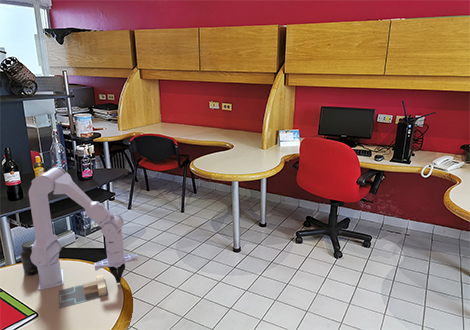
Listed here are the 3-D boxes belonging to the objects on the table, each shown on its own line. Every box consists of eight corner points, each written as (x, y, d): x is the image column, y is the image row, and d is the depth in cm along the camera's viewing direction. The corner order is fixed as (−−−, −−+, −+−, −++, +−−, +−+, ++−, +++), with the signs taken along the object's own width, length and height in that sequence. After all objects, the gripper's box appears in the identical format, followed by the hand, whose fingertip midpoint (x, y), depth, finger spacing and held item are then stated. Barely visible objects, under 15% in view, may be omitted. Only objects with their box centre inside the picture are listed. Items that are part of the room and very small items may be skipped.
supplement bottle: (26, 267, 136) (20, 240, 132) (45, 264, 138) (40, 237, 135) (22, 277, 130) (16, 249, 126) (43, 274, 132) (37, 246, 128)
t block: (83, 286, 126) (82, 279, 125) (104, 280, 129) (103, 274, 128) (85, 299, 119) (84, 292, 118) (106, 294, 122) (105, 286, 121)
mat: (59, 291, 123) (59, 290, 123) (105, 279, 130) (105, 279, 130) (59, 309, 115) (59, 308, 115) (108, 296, 121) (108, 295, 121)
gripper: (94, 259, 116) (98, 293, 120) (138, 249, 122) (140, 282, 126) (92, 249, 122) (96, 281, 126) (134, 240, 128) (136, 271, 132)
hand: (118, 281), depth 127 cm, fingers closed
